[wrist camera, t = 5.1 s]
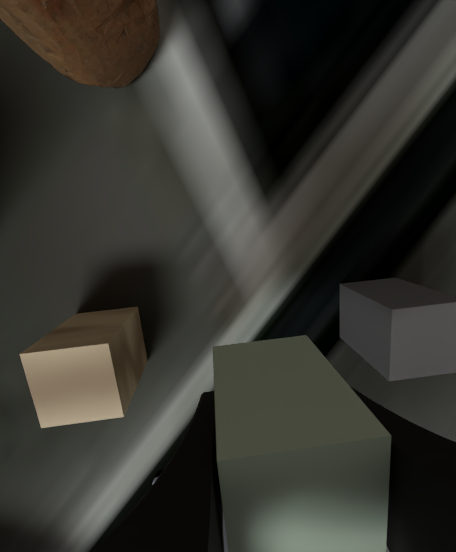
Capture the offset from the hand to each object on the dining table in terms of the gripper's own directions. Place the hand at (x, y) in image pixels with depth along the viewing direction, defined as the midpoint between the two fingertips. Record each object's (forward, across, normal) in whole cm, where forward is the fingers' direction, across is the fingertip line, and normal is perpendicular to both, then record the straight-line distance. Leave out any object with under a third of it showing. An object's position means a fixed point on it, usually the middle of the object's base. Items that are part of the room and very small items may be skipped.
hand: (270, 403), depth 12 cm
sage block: (+2, 0, 0) cm, 2 cm away
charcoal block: (+9, -10, 0) cm, 14 cm away
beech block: (+9, +10, 0) cm, 14 cm away
